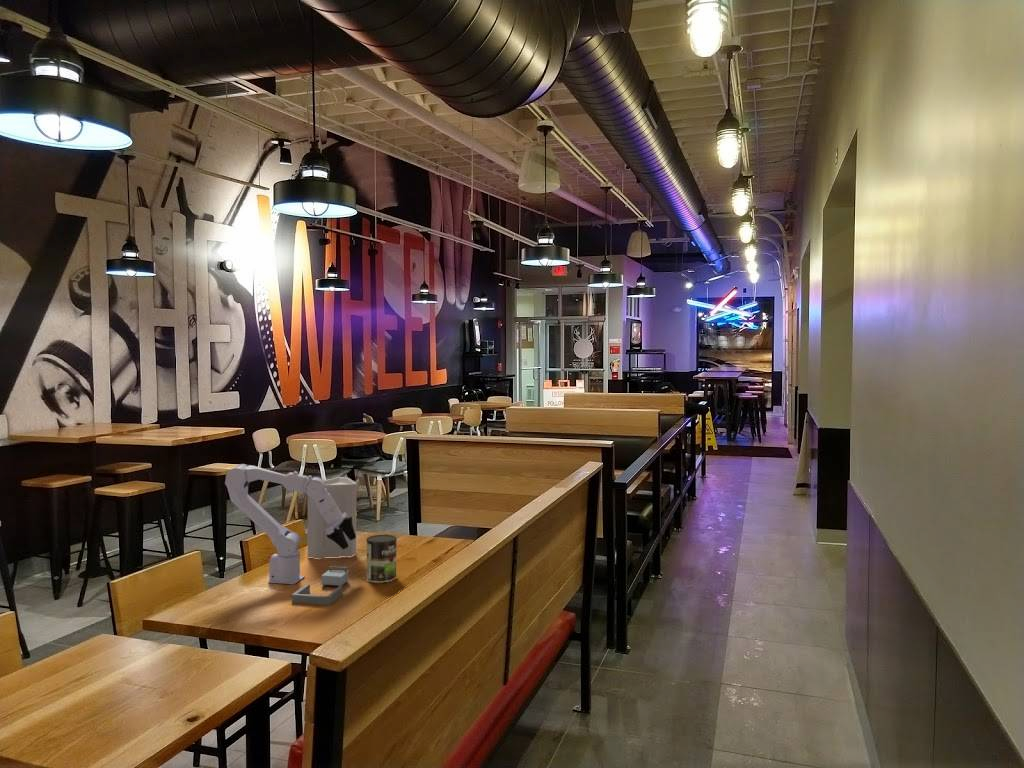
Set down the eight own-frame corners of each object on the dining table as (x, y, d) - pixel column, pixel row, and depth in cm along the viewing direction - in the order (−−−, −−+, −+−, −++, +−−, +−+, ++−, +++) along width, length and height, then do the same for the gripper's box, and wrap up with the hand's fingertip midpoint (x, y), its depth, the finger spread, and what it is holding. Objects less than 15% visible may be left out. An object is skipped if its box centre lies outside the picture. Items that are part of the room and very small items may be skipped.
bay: (291, 602, 213) (291, 594, 213) (306, 591, 223) (306, 584, 223) (329, 605, 211) (329, 597, 211) (342, 594, 221) (342, 586, 221)
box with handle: (321, 586, 228) (321, 571, 228) (328, 581, 234) (328, 565, 234) (341, 588, 227) (341, 572, 227) (348, 582, 233) (348, 567, 233)
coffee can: (402, 578, 239) (403, 537, 238) (380, 585, 230) (380, 543, 230) (382, 572, 245) (382, 532, 244) (359, 579, 237) (360, 538, 236)
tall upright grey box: (338, 563, 254) (338, 487, 253) (306, 558, 261) (306, 484, 260) (369, 550, 272) (369, 479, 271) (338, 545, 278) (339, 476, 277)
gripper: (330, 512, 227) (351, 547, 229) (346, 497, 241) (366, 530, 243) (313, 521, 229) (334, 556, 230) (329, 506, 243) (349, 538, 244)
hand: (349, 543), depth 236 cm, fingers open, 7 cm apart
